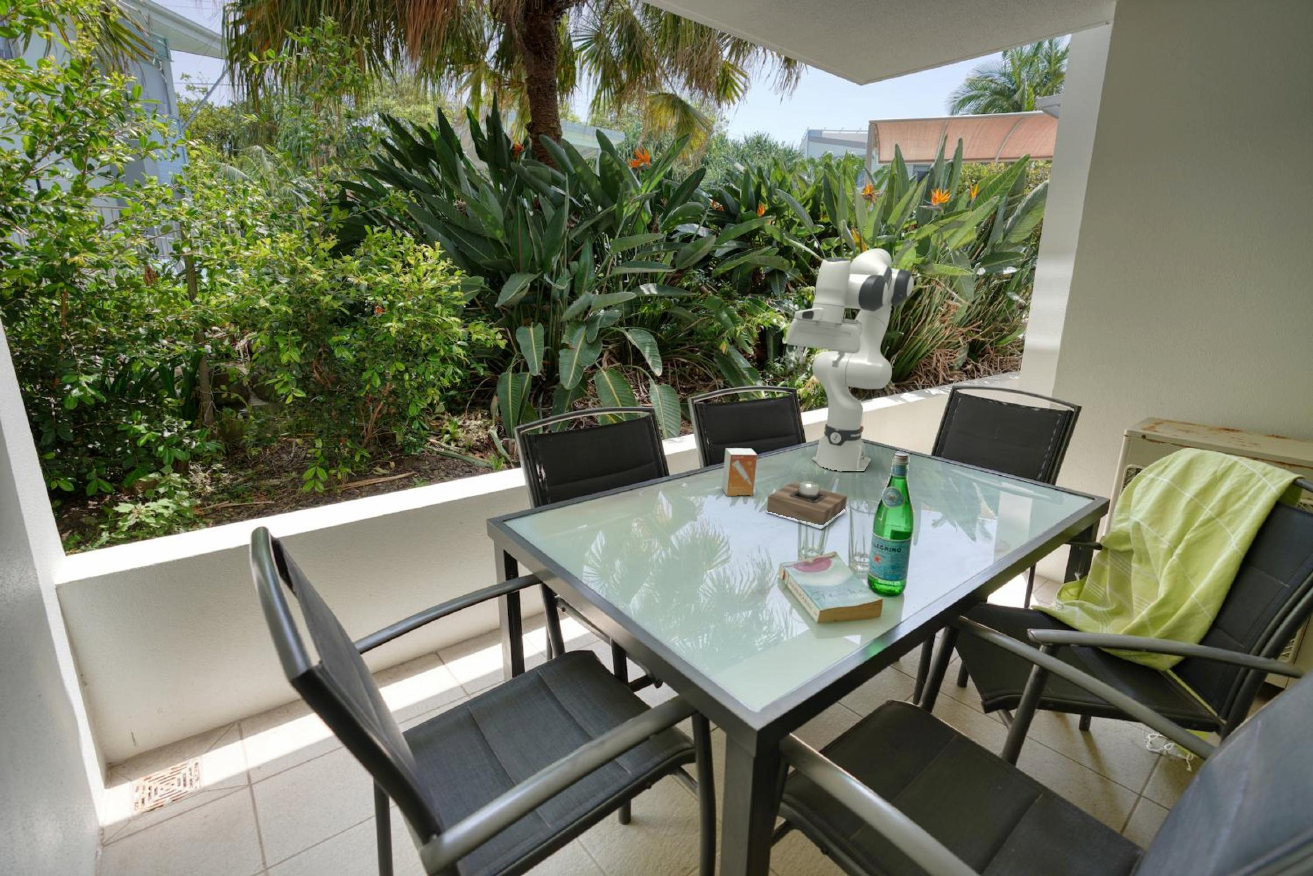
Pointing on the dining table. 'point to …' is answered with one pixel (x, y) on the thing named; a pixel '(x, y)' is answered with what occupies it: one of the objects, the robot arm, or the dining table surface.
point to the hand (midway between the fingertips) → (818, 365)
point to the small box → (739, 471)
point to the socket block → (806, 504)
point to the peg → (809, 490)
